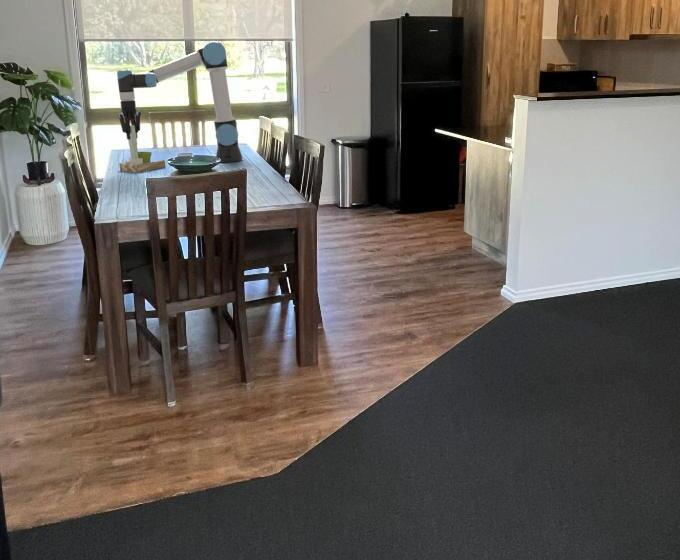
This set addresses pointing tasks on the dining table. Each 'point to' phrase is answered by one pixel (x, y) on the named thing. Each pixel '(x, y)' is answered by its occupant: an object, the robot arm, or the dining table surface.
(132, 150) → the puller
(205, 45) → the robot arm
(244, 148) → the dining table surface
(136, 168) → the wooden tray
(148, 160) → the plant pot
